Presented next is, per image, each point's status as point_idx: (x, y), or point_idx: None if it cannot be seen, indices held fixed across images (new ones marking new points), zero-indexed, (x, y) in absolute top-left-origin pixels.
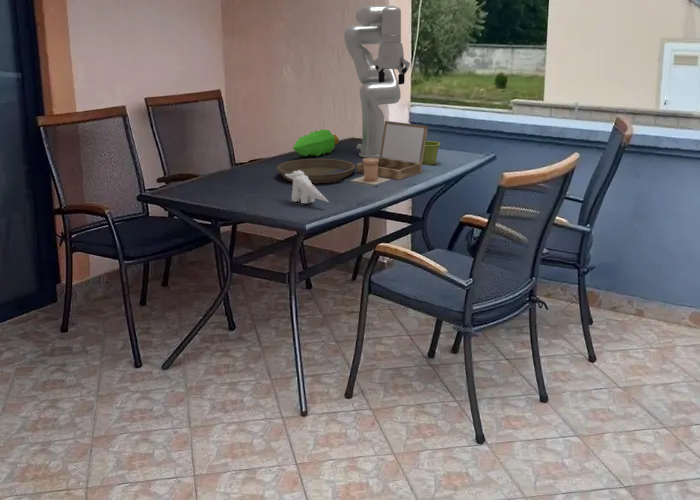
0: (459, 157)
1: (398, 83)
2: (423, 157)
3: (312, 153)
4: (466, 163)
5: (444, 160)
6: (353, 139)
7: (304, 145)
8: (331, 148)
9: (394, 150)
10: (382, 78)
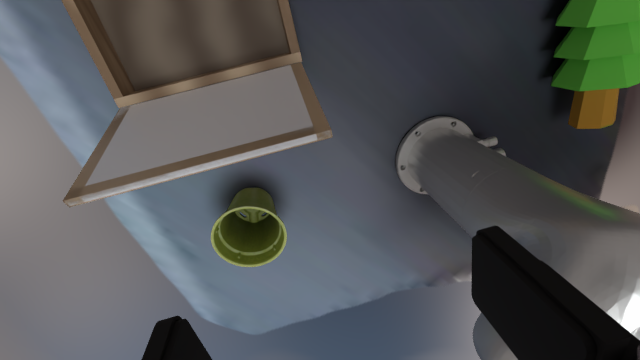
0: (262, 293)
1: (177, 322)
2: (245, 194)
3: None
4: (195, 272)
5: None
6: None
7: None
8: (555, 76)
9: (242, 90)
10: (503, 303)
